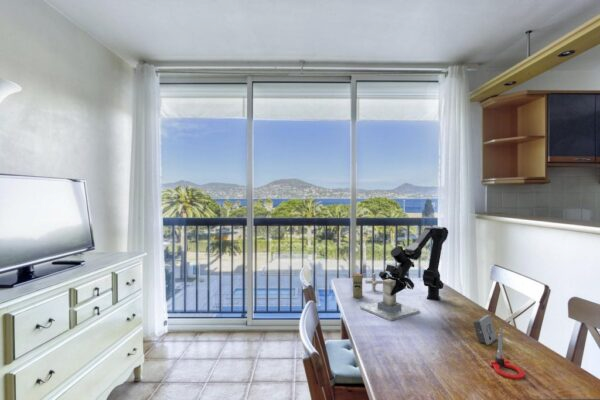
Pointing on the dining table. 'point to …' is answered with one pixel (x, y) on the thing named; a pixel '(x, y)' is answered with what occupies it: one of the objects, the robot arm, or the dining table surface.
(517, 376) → the tow hook
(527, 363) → the dining table surface
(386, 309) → the socket plate
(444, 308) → the dining table surface
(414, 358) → the dining table surface
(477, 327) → the electrical switch
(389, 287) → the birch peg
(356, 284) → the shoe polish box
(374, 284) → the pipe connector
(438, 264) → the robot arm
